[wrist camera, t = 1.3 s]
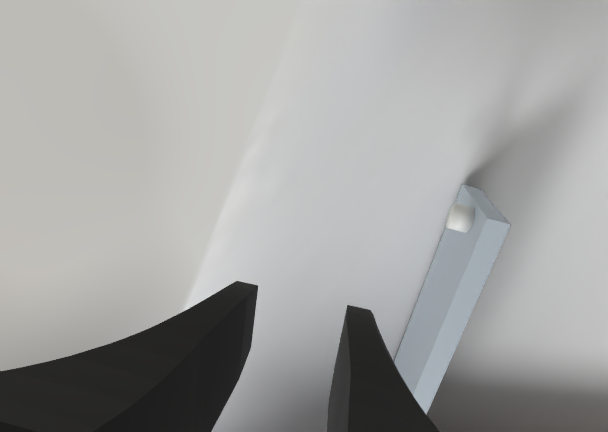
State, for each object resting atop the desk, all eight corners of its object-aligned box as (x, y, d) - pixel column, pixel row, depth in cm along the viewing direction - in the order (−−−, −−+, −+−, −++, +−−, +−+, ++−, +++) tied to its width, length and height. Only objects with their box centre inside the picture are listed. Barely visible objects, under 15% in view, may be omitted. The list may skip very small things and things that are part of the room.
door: (383, 430, 23) (383, 511, 19) (357, 422, 23) (351, 500, 19) (480, 188, 18) (511, 224, 14) (446, 179, 18) (466, 212, 14)
